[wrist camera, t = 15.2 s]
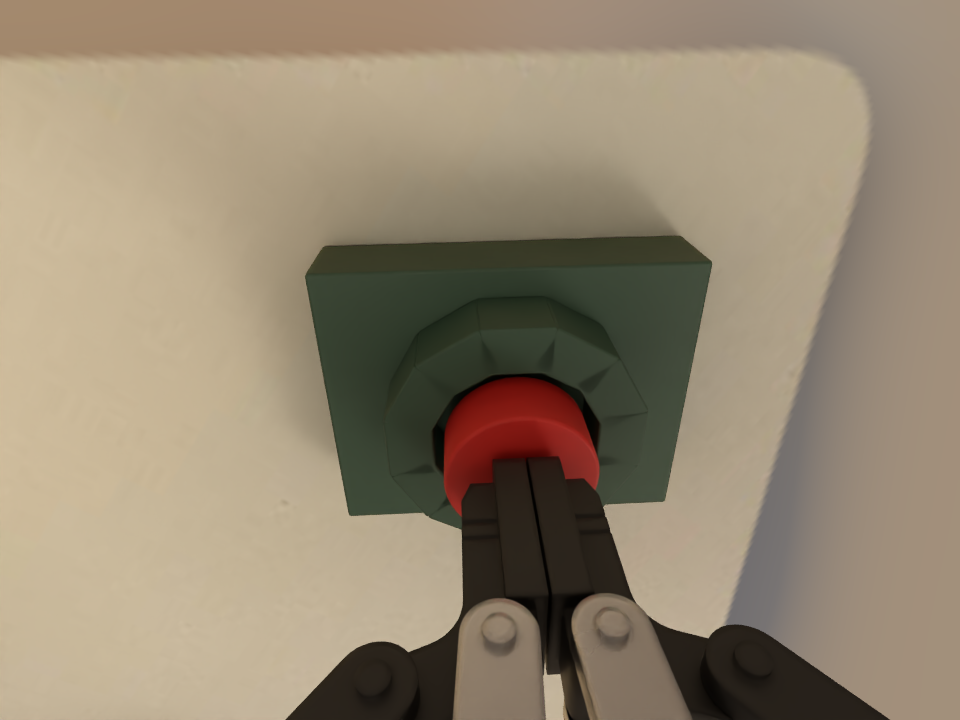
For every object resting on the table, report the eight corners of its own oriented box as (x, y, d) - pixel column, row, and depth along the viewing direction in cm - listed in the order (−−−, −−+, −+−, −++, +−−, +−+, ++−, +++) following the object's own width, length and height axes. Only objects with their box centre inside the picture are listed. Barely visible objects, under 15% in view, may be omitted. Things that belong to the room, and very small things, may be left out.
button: (590, 372, 13) (608, 414, 12) (579, 484, 15) (593, 534, 14) (440, 377, 13) (439, 421, 12) (447, 490, 15) (447, 541, 13)
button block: (681, 234, 15) (748, 289, 12) (644, 457, 19) (686, 547, 16) (322, 245, 15) (283, 305, 12) (358, 470, 19) (338, 564, 16)
